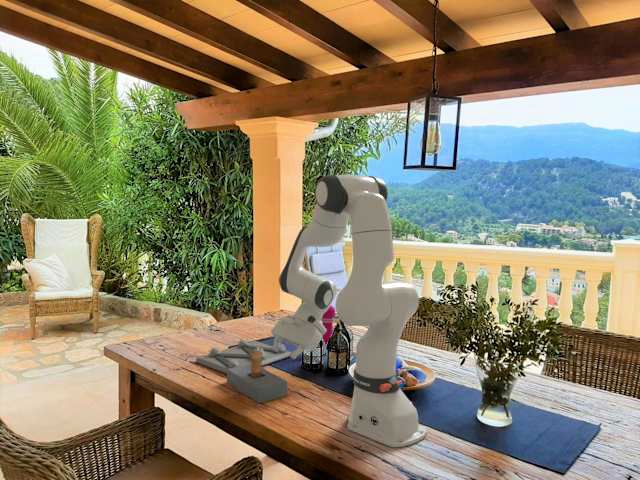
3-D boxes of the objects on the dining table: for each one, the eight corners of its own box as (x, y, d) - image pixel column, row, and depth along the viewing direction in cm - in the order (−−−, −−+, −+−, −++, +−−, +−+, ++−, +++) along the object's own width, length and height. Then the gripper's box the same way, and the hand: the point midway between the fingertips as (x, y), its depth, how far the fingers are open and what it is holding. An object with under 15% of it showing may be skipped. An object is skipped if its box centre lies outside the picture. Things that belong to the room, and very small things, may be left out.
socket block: (286, 395, 158) (287, 381, 157) (259, 403, 151) (259, 388, 151) (253, 375, 173) (253, 363, 173) (227, 382, 167) (227, 369, 166)
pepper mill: (334, 354, 198) (335, 304, 196) (315, 352, 199) (317, 302, 197) (337, 348, 205) (338, 300, 203) (319, 347, 206) (321, 298, 204)
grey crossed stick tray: (255, 345, 208) (255, 328, 207) (293, 358, 194) (293, 339, 193) (193, 363, 185) (194, 344, 184) (232, 379, 171) (232, 358, 170)
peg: (263, 389, 162) (263, 352, 161) (254, 391, 160) (255, 354, 159) (257, 386, 164) (258, 350, 163) (249, 388, 162) (249, 351, 161)
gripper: (281, 309, 180) (258, 341, 174) (321, 321, 166) (297, 356, 160) (290, 319, 184) (268, 351, 178) (330, 332, 169) (307, 367, 163)
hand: (282, 353), depth 169 cm, fingers open, 8 cm apart
